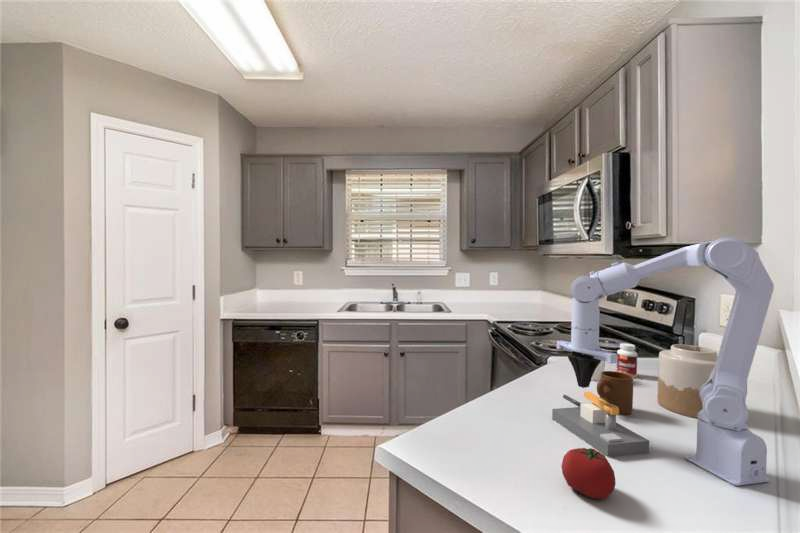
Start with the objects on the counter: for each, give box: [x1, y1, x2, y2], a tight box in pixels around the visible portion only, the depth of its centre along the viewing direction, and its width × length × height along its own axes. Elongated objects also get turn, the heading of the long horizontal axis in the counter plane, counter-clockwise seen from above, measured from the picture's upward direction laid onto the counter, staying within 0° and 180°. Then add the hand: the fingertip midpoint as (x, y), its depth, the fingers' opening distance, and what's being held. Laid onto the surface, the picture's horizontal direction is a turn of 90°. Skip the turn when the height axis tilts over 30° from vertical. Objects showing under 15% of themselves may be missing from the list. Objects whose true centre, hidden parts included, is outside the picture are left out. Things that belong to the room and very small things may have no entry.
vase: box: [657, 343, 718, 419], centre depth 99 cm, size 15×15×17 cm
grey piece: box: [551, 406, 650, 458], centre depth 82 cm, size 18×10×6 cm, turn 12°
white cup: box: [591, 348, 606, 382], centre depth 125 cm, size 8×8×10 cm
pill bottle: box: [615, 342, 638, 378], centre depth 129 cm, size 6×6×11 cm
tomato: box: [561, 447, 617, 500], centre depth 61 cm, size 8×8×7 cm
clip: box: [583, 391, 620, 416], centre depth 83 cm, size 10×3×1 cm, turn 4°
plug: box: [562, 394, 606, 423], centre depth 89 cm, size 12×4×3 cm, turn 12°
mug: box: [596, 370, 634, 416], centre depth 96 cm, size 12×8×9 cm, turn 120°
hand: (583, 386), depth 84 cm, fingers closed
